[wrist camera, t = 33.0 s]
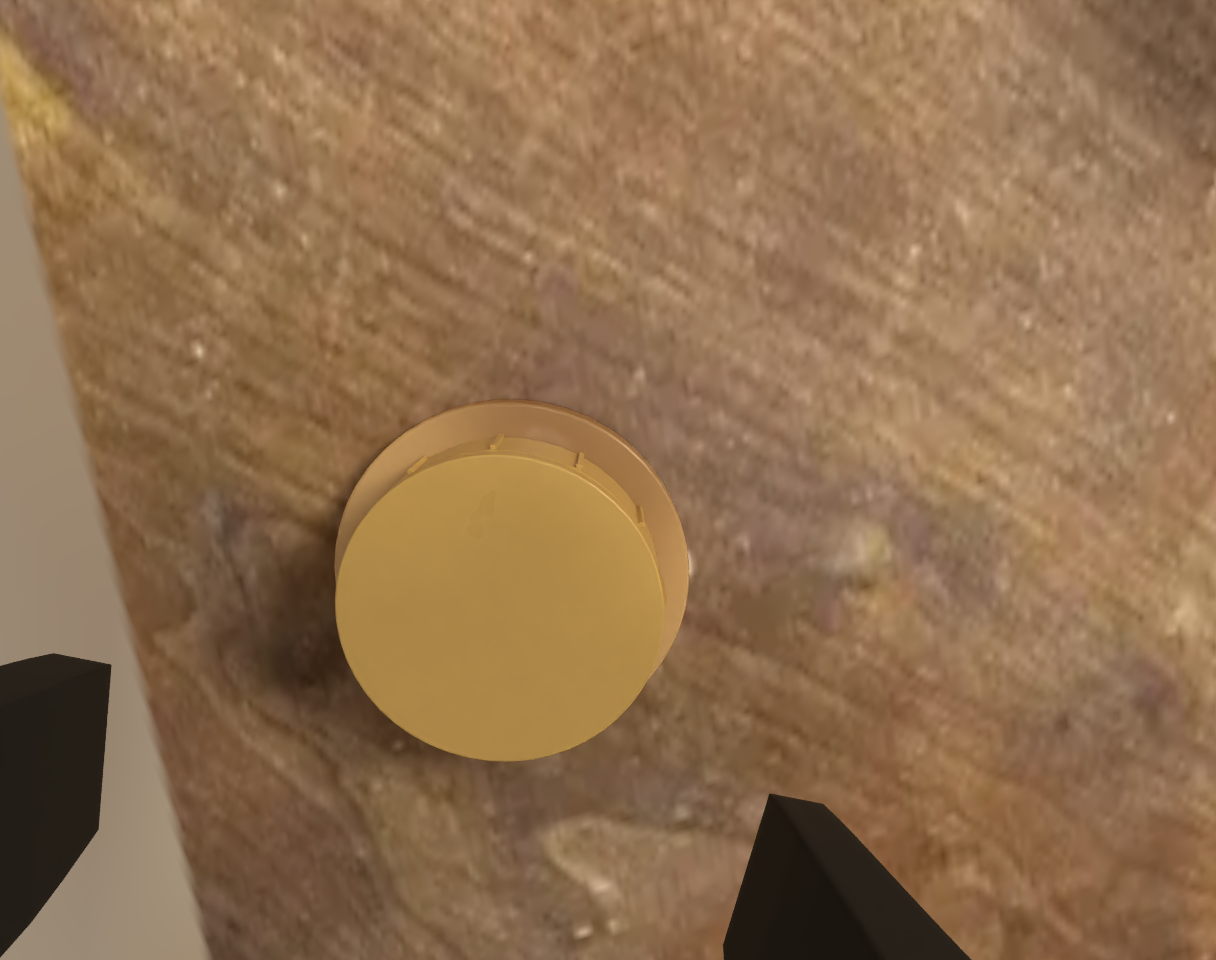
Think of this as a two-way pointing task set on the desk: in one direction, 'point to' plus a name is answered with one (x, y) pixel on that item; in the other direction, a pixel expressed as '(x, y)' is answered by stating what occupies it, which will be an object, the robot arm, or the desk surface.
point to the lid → (502, 600)
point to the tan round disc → (554, 429)
